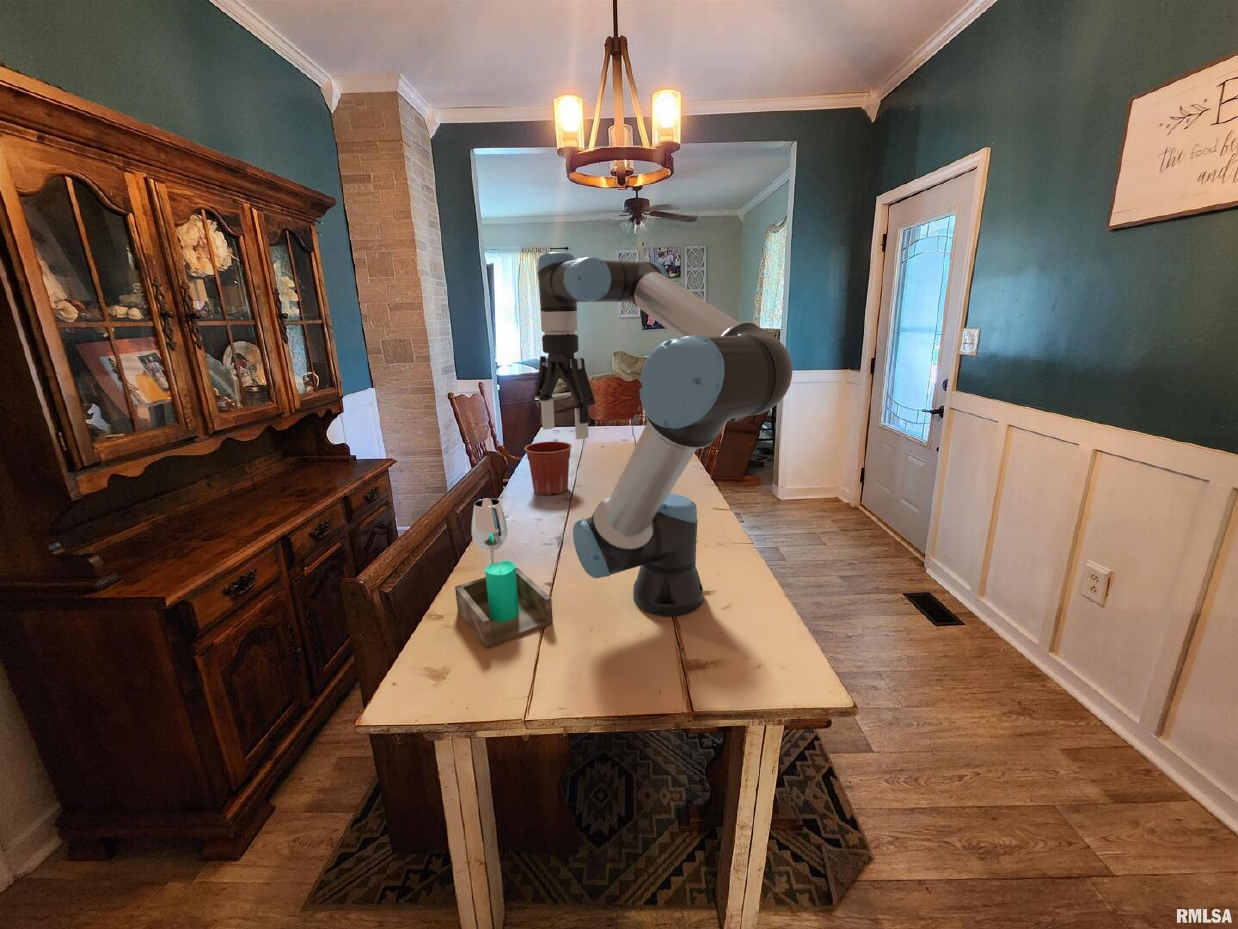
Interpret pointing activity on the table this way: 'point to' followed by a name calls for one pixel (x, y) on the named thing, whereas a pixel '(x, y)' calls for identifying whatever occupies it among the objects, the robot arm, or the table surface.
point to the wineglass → (489, 525)
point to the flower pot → (549, 466)
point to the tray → (491, 633)
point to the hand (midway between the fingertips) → (564, 433)
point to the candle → (502, 591)
